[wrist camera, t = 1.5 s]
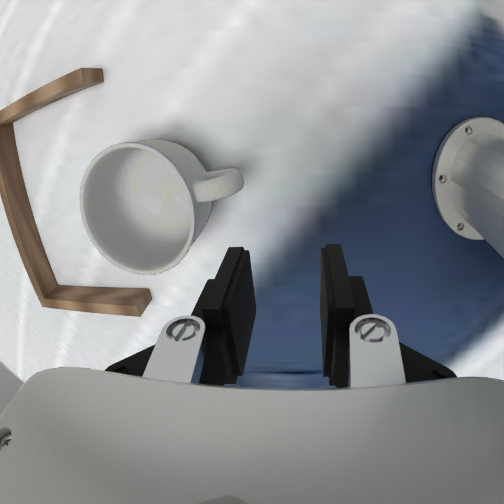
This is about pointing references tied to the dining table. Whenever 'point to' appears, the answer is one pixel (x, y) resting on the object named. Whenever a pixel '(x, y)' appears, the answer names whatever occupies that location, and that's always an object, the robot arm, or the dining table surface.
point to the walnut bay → (22, 221)
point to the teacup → (149, 203)
